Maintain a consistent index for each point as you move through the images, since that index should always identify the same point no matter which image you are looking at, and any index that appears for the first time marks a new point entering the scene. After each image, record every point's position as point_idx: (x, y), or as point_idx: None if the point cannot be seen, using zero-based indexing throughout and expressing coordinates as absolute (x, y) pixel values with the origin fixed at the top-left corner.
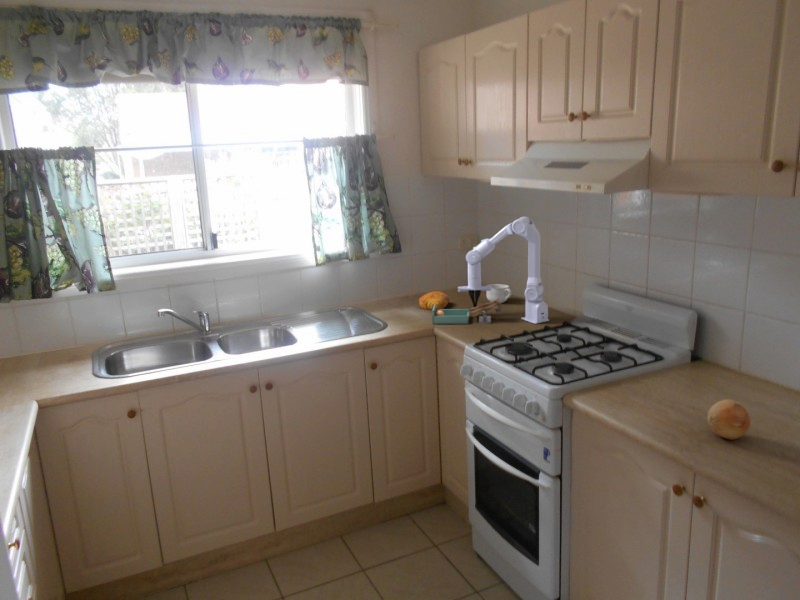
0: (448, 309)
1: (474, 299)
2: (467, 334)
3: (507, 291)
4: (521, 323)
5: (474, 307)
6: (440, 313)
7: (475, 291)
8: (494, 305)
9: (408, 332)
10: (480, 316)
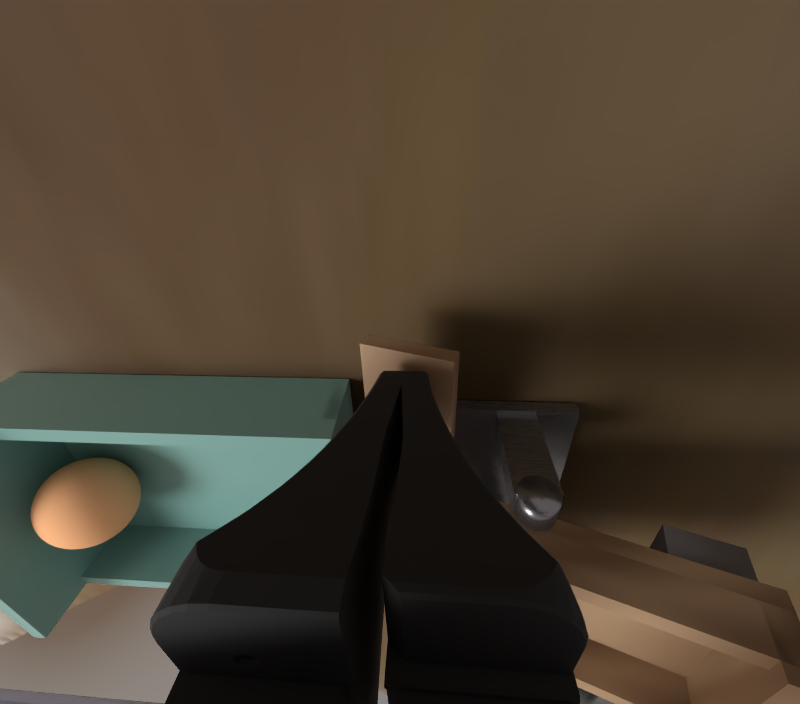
0: (92, 440)
1: (386, 459)
2: (382, 643)
3: None
4: (783, 549)
5: None
6: (96, 544)
7: (396, 697)
8: (639, 701)
9: (74, 605)
10: (467, 425)
